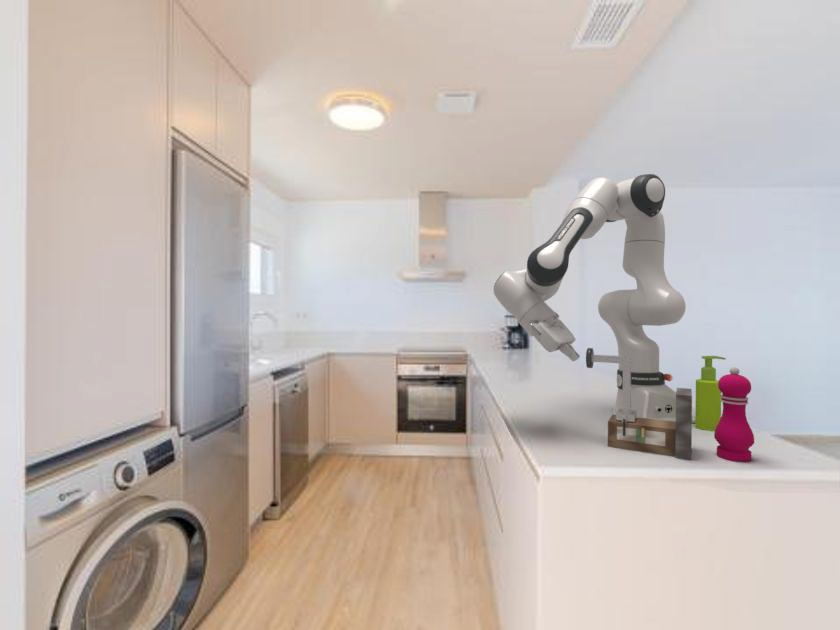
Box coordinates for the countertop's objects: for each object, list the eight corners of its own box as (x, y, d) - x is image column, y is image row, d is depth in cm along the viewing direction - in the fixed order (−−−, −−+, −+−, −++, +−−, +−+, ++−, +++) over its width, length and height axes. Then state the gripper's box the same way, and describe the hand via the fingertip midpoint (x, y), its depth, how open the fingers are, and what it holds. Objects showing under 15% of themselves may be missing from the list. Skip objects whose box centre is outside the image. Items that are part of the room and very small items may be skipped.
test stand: (607, 447, 104) (607, 388, 103) (613, 436, 112) (613, 382, 112) (691, 460, 95) (691, 395, 95) (690, 447, 103) (691, 388, 103)
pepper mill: (761, 463, 93) (762, 369, 92) (723, 461, 94) (724, 368, 94) (743, 452, 100) (744, 365, 100) (708, 450, 101) (709, 364, 101)
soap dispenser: (729, 431, 117) (730, 357, 117) (701, 430, 118) (701, 356, 118) (718, 426, 123) (719, 355, 123) (691, 424, 124) (692, 354, 124)
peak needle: (641, 437, 100) (641, 428, 100) (641, 436, 100) (641, 428, 100) (644, 437, 100) (644, 428, 100) (644, 437, 100) (644, 428, 100)
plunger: (583, 430, 107) (584, 349, 106) (589, 423, 113) (590, 347, 113) (633, 437, 101) (634, 351, 101) (636, 429, 108) (637, 349, 107)
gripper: (536, 312, 107) (577, 354, 102) (557, 312, 124) (593, 348, 119) (518, 329, 109) (557, 371, 104) (541, 327, 127) (576, 363, 122)
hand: (576, 359), depth 112 cm, fingers closed
